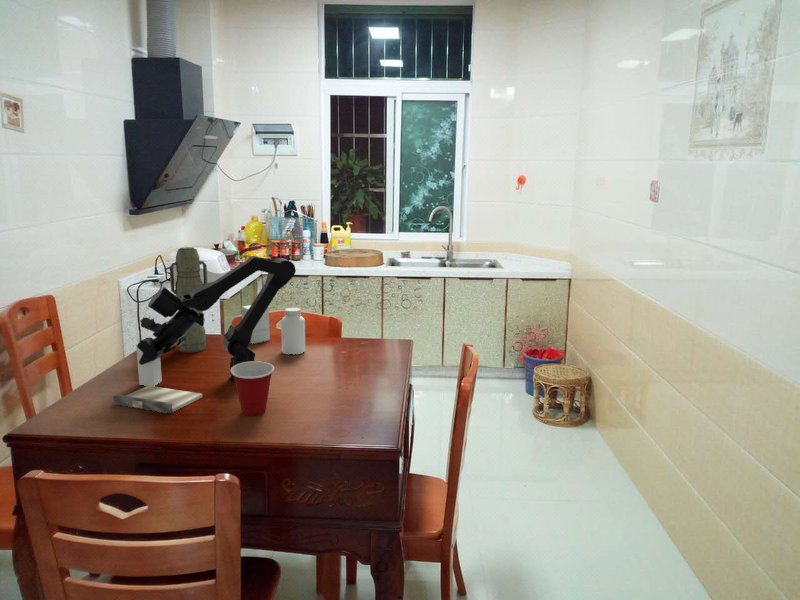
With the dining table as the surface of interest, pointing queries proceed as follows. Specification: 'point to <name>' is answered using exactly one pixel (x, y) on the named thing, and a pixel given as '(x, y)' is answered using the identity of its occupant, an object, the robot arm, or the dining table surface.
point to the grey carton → (149, 371)
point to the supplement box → (259, 327)
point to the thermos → (185, 284)
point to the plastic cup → (252, 385)
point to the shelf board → (157, 399)
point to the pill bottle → (293, 332)
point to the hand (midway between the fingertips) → (144, 361)
